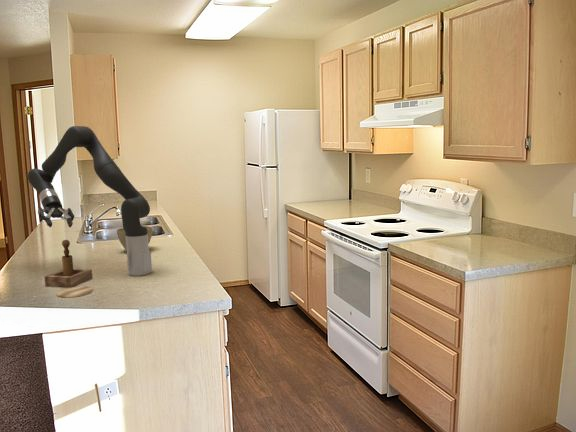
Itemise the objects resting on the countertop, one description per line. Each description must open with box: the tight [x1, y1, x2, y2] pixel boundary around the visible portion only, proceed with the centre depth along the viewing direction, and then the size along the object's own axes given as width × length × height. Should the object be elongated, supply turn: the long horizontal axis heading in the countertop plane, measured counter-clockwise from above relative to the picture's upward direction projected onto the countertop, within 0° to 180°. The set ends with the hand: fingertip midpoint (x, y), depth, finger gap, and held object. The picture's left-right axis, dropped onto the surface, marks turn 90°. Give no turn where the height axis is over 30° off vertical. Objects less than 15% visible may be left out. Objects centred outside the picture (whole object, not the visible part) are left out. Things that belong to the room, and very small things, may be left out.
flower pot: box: [116, 225, 153, 251], centre depth 272 cm, size 18×18×12 cm
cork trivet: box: [56, 285, 94, 299], centre depth 200 cm, size 13×13×1 cm
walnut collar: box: [44, 268, 93, 288], centre depth 215 cm, size 12×14×4 cm
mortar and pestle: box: [61, 239, 74, 276], centre depth 214 cm, size 7×6×18 cm
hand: (61, 225), depth 224 cm, fingers open, 8 cm apart
